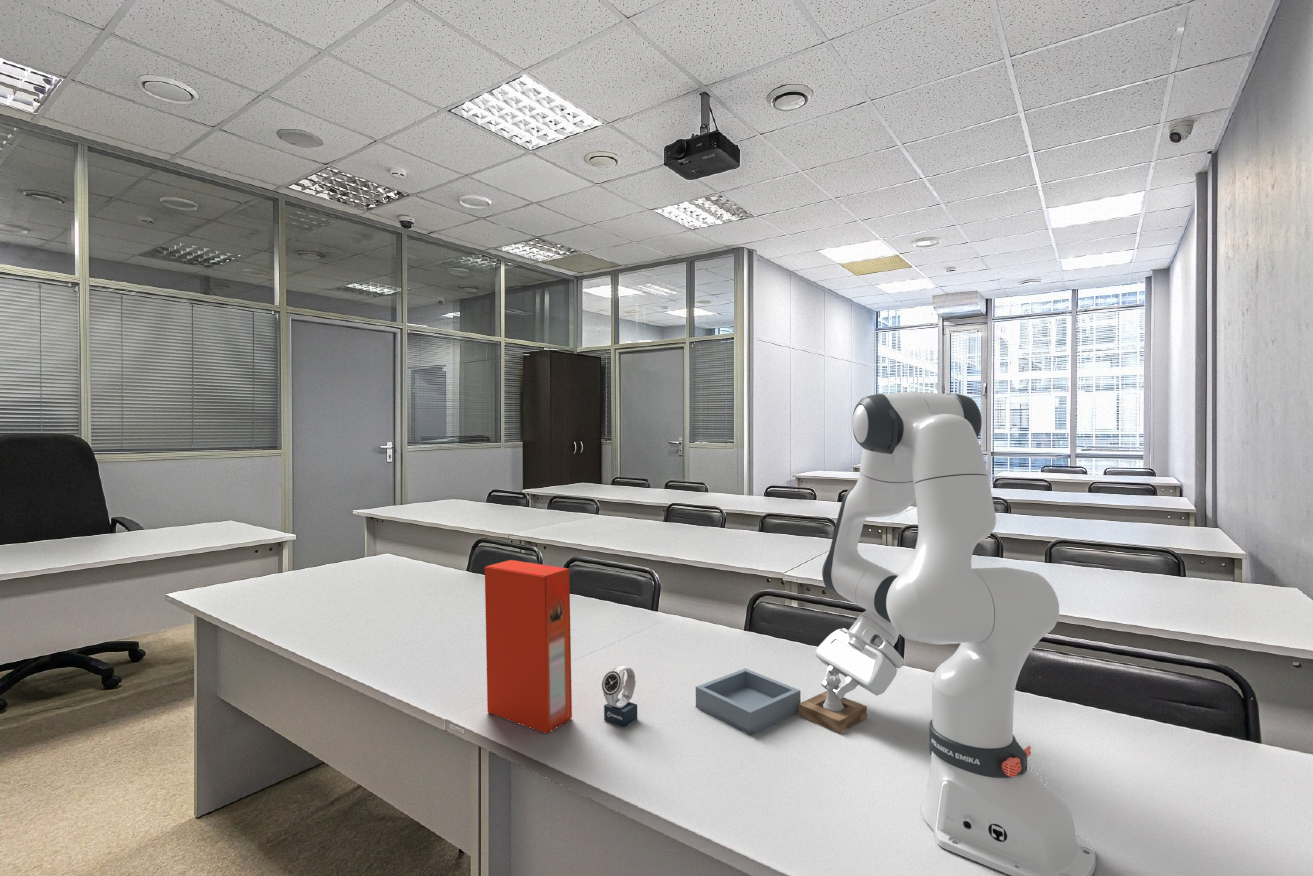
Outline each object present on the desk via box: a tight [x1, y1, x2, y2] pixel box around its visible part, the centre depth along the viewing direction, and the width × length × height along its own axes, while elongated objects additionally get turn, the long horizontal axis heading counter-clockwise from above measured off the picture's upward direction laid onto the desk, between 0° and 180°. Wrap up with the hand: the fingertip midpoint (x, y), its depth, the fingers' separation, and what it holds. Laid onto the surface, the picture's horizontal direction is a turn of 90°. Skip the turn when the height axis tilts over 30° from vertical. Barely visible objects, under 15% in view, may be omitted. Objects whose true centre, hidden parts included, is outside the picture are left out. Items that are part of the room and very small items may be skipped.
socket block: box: [798, 690, 868, 734], centre depth 128 cm, size 10×10×2 cm
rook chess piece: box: [823, 674, 844, 713], centre depth 127 cm, size 4×4×8 cm
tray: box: [695, 668, 802, 736], centre depth 131 cm, size 16×16×4 cm
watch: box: [601, 664, 638, 728], centre depth 127 cm, size 6×8×11 cm
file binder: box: [484, 559, 573, 734], centre depth 129 cm, size 8×17×32 cm, turn 57°
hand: (830, 691), depth 127 cm, fingers closed on rook chess piece, 3 cm apart
